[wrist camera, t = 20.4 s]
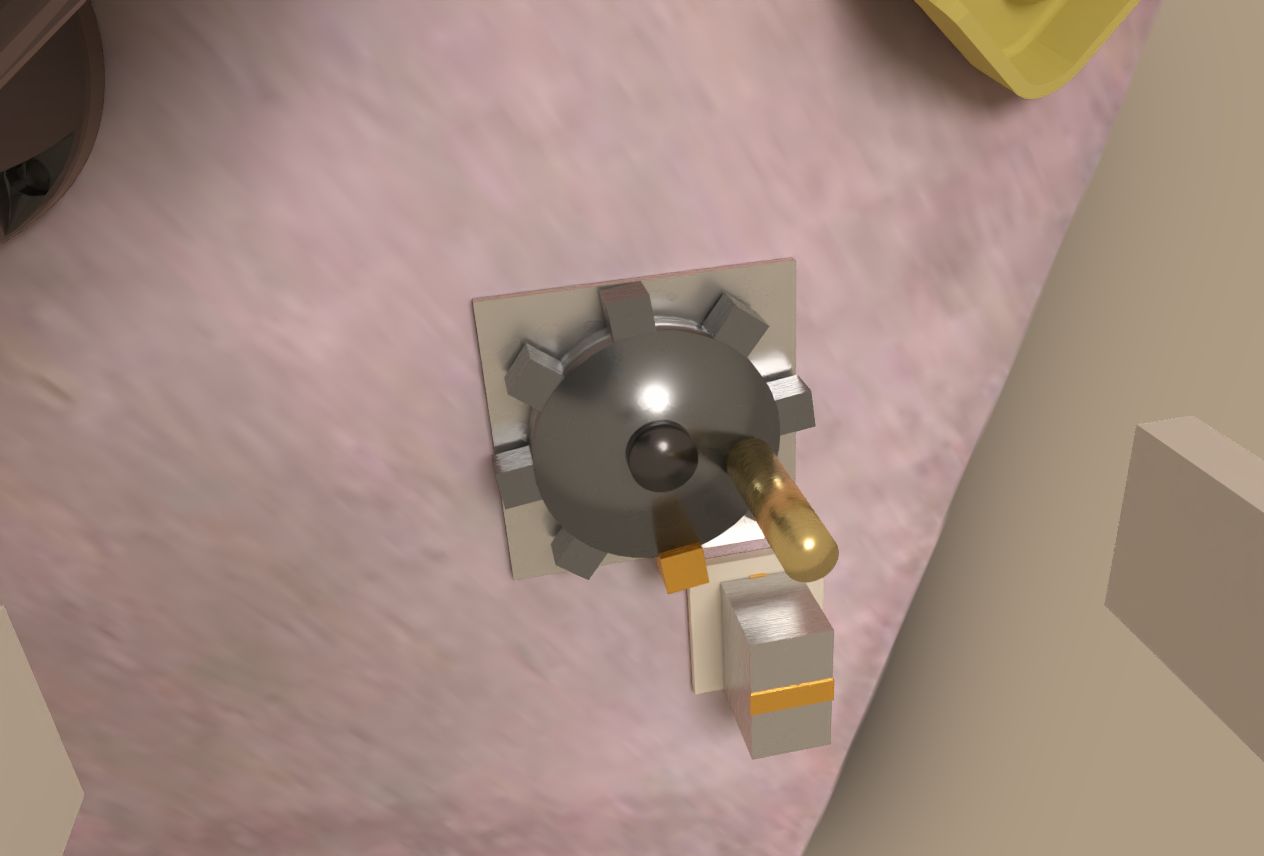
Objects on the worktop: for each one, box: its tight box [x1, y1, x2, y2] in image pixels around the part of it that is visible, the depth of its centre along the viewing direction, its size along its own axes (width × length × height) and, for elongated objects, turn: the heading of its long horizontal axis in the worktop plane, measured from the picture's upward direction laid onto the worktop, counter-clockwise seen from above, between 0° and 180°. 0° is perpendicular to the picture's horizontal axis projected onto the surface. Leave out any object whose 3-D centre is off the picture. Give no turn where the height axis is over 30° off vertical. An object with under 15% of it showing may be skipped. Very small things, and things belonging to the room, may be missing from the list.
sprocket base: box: [472, 257, 796, 580], centre depth 47 cm, size 14×14×1 cm
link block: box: [721, 572, 834, 760], centre depth 51 cm, size 4×7×5 cm, turn 4°
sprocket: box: [492, 281, 839, 594], centre depth 42 cm, size 14×14×10 cm
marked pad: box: [687, 548, 824, 694], centre depth 53 cm, size 7×8×1 cm
